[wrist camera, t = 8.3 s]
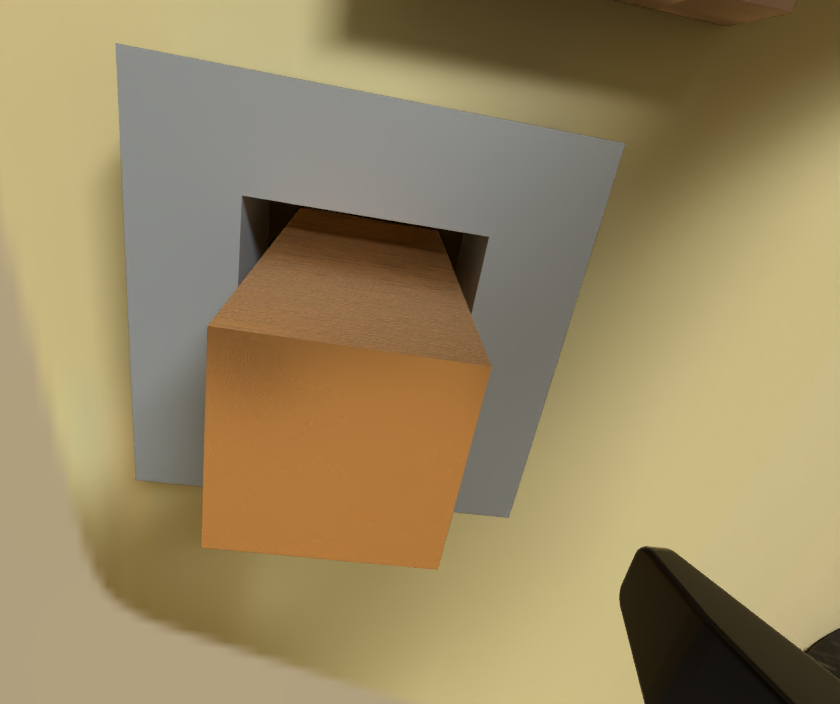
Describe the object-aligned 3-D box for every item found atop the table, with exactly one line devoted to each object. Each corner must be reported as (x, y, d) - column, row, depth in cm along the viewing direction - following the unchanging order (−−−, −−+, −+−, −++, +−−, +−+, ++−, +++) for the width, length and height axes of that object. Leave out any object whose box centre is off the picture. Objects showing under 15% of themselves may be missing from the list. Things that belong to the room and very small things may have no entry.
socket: (575, 133, 15) (625, 142, 12) (488, 449, 19) (508, 517, 16) (177, 55, 14) (115, 43, 11) (179, 413, 18) (135, 479, 15)
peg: (438, 231, 16) (491, 366, 8) (413, 352, 18) (437, 569, 10) (301, 207, 16) (206, 325, 7) (288, 334, 17) (201, 547, 9)
